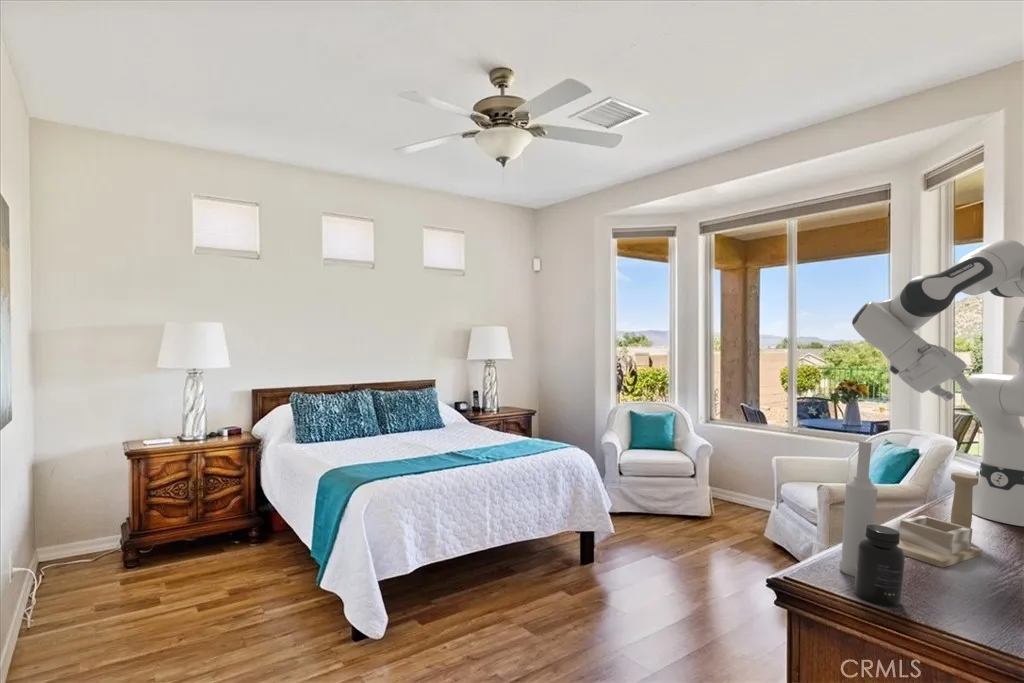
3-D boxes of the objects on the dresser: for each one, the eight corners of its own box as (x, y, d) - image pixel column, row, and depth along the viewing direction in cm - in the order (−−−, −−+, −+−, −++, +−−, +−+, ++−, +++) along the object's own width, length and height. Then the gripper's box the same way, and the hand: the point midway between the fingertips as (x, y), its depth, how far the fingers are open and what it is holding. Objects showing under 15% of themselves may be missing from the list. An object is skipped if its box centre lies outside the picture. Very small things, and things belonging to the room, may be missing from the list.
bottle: (847, 576, 106) (858, 443, 106) (833, 565, 112) (844, 437, 111) (876, 579, 106) (887, 445, 106) (860, 568, 111) (871, 440, 111)
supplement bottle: (845, 587, 102) (851, 520, 101) (885, 591, 101) (891, 523, 101) (867, 606, 95) (873, 534, 94) (910, 610, 94) (916, 537, 94)
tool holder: (918, 536, 134) (920, 512, 134) (981, 555, 124) (983, 529, 124) (878, 546, 125) (880, 521, 125) (942, 567, 115) (944, 540, 115)
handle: (975, 539, 134) (981, 476, 134) (969, 545, 130) (974, 479, 130) (950, 533, 138) (955, 471, 138) (943, 538, 134) (948, 474, 134)
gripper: (939, 333, 136) (993, 375, 130) (904, 357, 155) (950, 395, 149) (919, 350, 136) (972, 393, 130) (886, 372, 154) (932, 411, 149)
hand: (960, 394), depth 140 cm, fingers open, 8 cm apart
